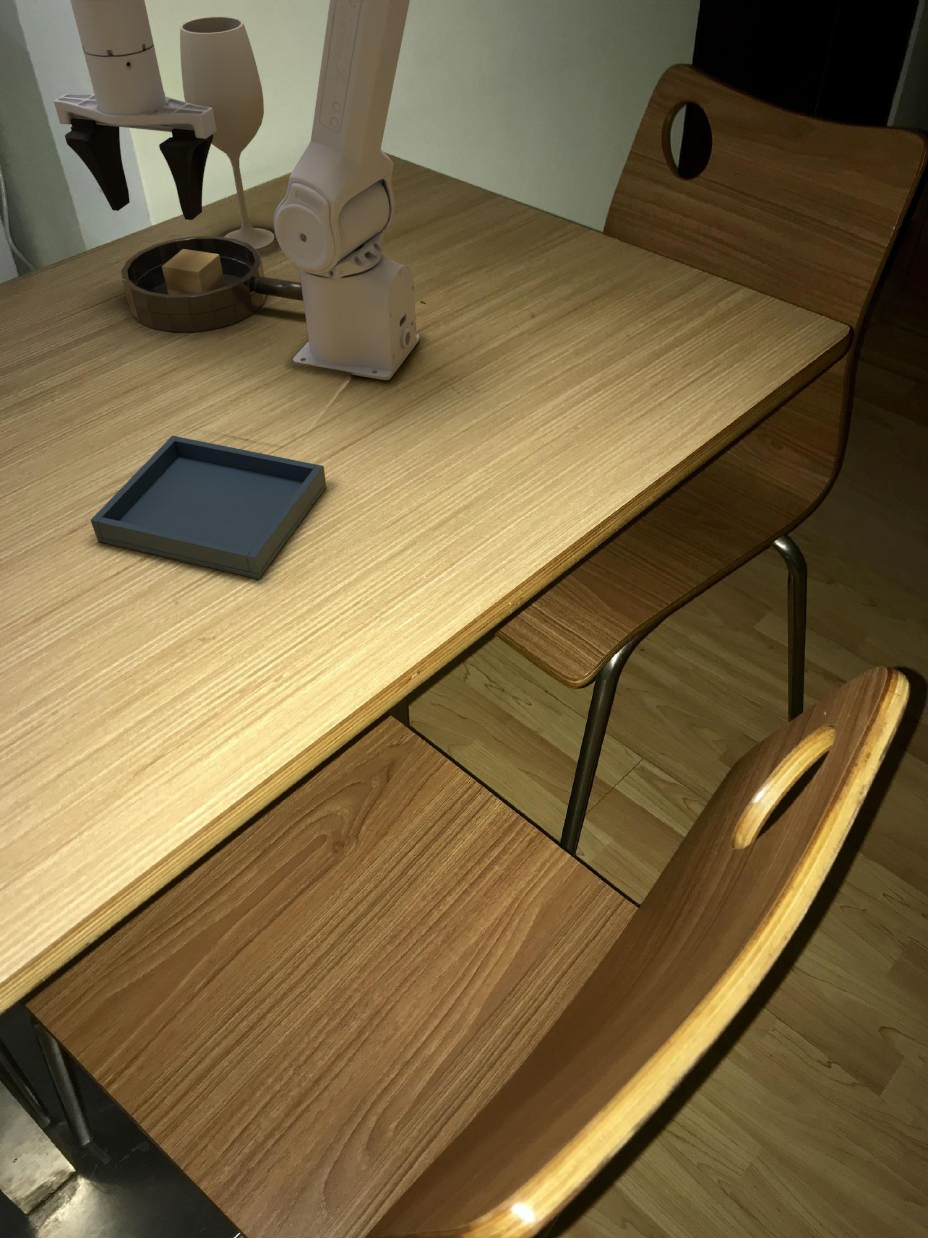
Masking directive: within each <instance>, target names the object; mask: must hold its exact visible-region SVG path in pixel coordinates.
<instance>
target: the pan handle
mask: <svg viewBox="0 0 928 1238" xmlns="http://www.w3.org/2000/svg"><path fill="white" fill-rule="evenodd" d="M252 289H253V290H254V291H255V292H256V293H258V294H263V295H266V296H269V297H276V298H282V299H288V300H294V301H301V302H304V301H303V294H302V286H301V281H300V282H299V281H295V280H293V281H292V280H287V279H279V278H274V277H266V276H264V277H261V276H259V277H256V278H254V279H253V281H252Z"/></svg>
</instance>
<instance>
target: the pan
mask: <svg viewBox="0 0 928 1238" xmlns="http://www.w3.org/2000/svg"><path fill="white" fill-rule="evenodd" d="M183 249H187V250H193V251H200V252H207V253H214V254H219V256H220V262H221V267H222V272H223V277H224V282H225V287H222V288H219V289H216V290H212V291H209V292H202V293H195V294H189V295H168V290H167V286H166V282H165V278H164V274H163V269H162V266H163V265H164V264H165V263H167V262H168V261H169V260H170V259H172V258H173V257H174V256H175V255H176V254H178V253H179V252H180V251H181V250H183ZM120 273H121V280H122V284H123V289H124V291H125V292H124V293H125V295H126V299H127V303H128V307H129V310H130V314H131V315H132V316H133V317H134V318H135V320H137V322H139V323H140V324H141V325H144V326H146V327H149V328H151V329H154V330H159V331H165V332H171V333H198V332H205V331H210V330H211V331H212V330H216V329H221V328H225V327H227V326H230V325H233V324H236V323H239V322H241V321H243V320H244V319H246V318H248V317H250V316H251V315H253V314H255V313H256V312H257V311H258V310H259V309H260V308H261V307H262V306H263V305H264V304H265V301H266V298H267V295H263V294H258V293H256V292H255V291H254V290H253V289H252V281H253V279H254V278H256V277H259V276H261V277H265V272H264V265H263V260H262V257H261V254H260V252H259V250H257V249H255V248H254V247H252V246H251V245H250V244H248V243H245V242H242V241H239V240H237V239H233V238H226V237H224V236H219V235H194V236H193V235H192V236H186V237H179V238H174V239H170V240H166V241H162V242H159V243H155V244H152V245H151V246H148V247H146V248H144V249H142V250H139V251H137V253H135V254H133V256H131V257H129V259H127V260H126V262H125V263H124V265H123V266H122V268H121V270H120Z"/></svg>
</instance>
